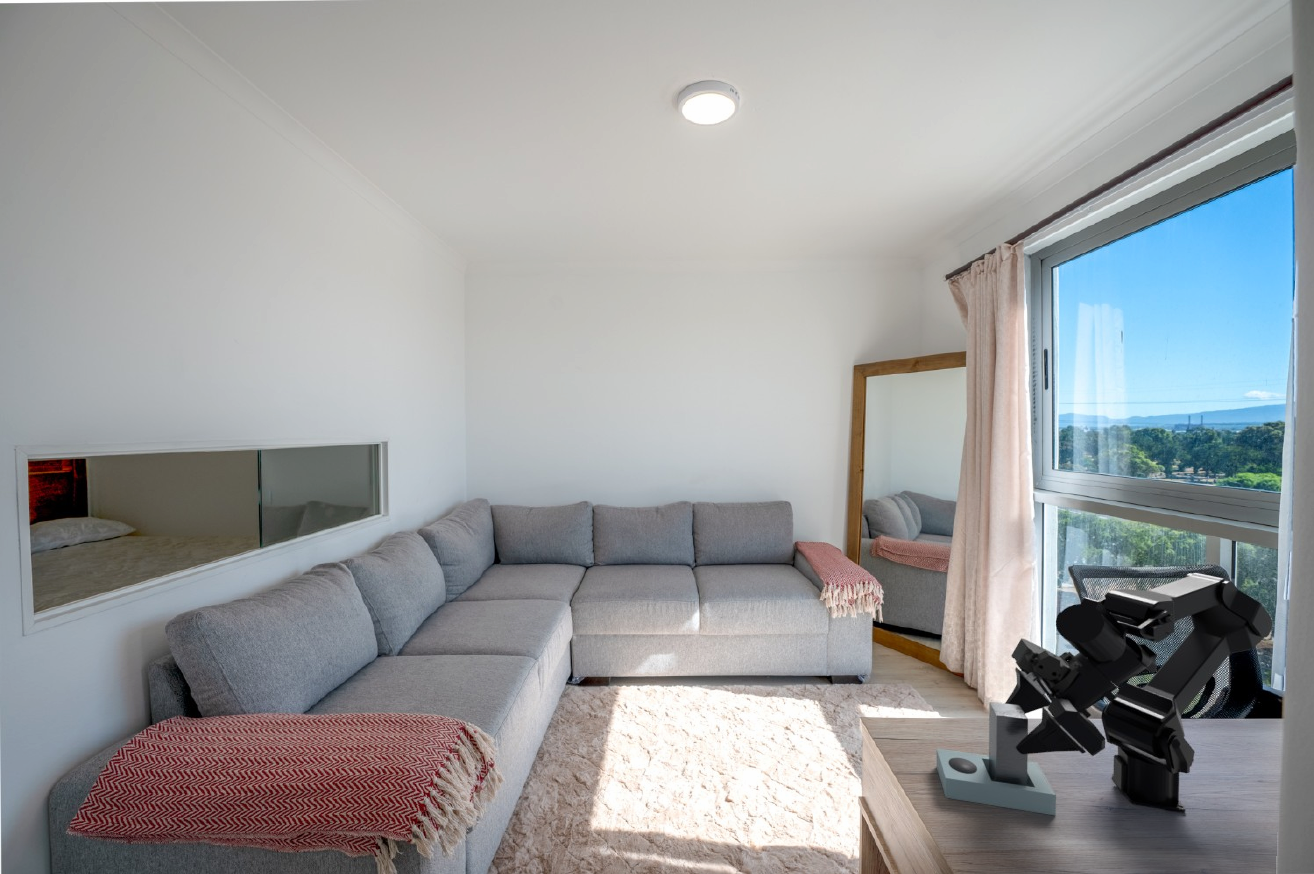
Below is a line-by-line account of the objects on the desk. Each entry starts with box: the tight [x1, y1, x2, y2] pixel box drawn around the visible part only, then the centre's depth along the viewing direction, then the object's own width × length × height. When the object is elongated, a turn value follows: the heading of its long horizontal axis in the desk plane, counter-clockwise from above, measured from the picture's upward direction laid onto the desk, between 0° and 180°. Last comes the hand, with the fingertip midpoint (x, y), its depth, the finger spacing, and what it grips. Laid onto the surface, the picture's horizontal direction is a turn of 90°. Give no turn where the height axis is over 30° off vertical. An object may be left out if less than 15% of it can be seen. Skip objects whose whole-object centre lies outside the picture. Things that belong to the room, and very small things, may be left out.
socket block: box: [936, 748, 1057, 817], centre depth 86 cm, size 14×8×3 cm, turn 73°
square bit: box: [988, 701, 1029, 786], centre depth 85 cm, size 4×4×12 cm
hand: (1009, 733), depth 85 cm, fingers open, 9 cm apart
